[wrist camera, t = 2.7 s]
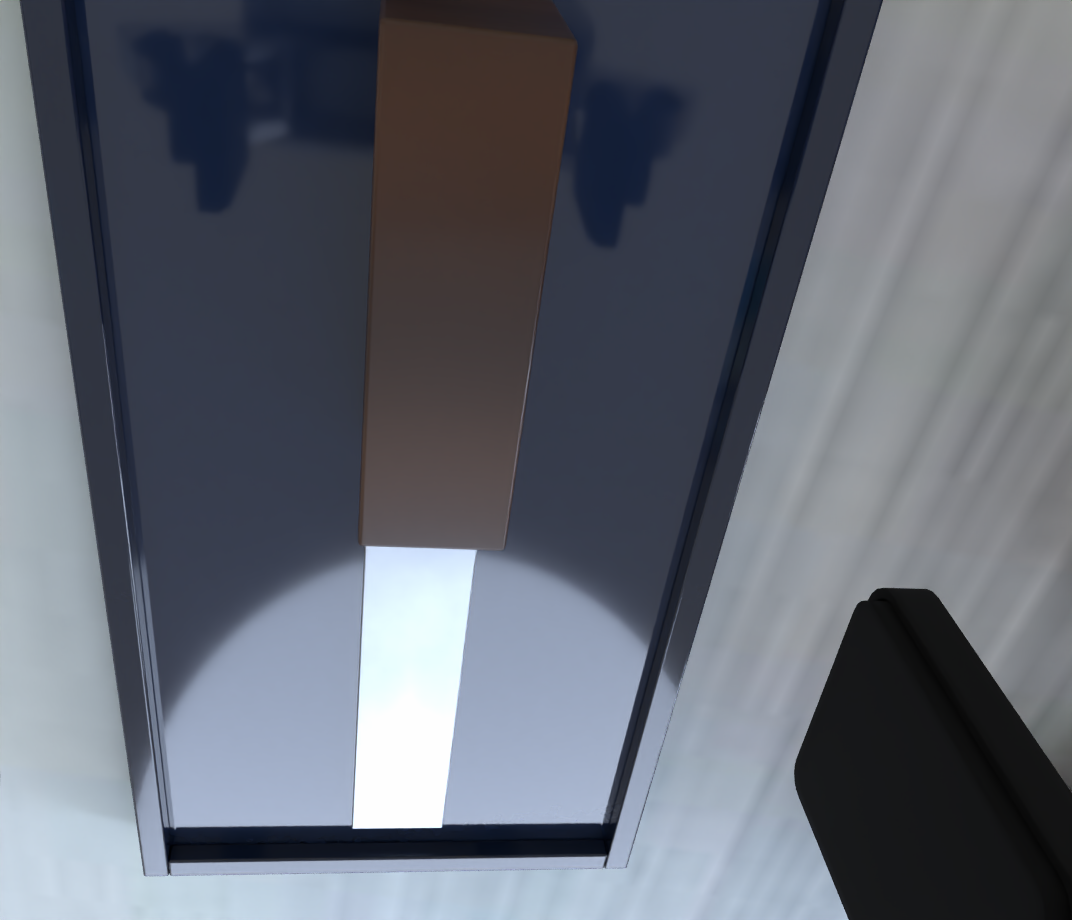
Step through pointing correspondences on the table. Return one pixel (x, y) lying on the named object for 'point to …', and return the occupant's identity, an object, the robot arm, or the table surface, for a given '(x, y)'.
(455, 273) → the knife
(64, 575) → the table surface
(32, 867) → the table surface
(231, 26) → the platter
